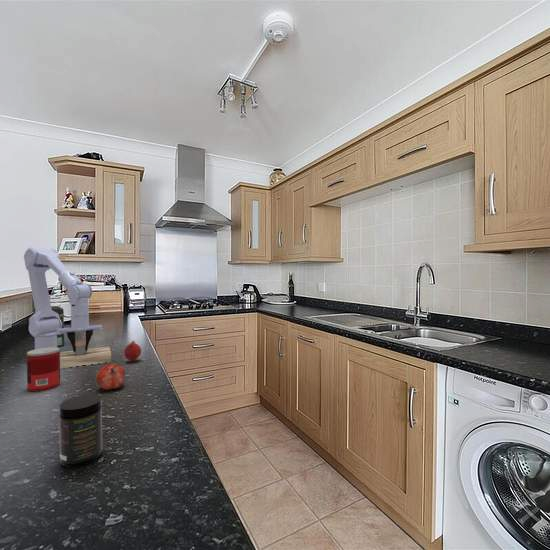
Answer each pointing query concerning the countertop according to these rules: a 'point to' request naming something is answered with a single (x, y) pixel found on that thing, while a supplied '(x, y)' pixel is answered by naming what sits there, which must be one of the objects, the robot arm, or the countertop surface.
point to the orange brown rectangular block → (80, 347)
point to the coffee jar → (61, 315)
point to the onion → (132, 351)
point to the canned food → (43, 368)
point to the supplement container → (80, 430)
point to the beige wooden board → (85, 357)
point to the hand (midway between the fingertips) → (80, 351)
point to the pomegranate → (110, 376)
